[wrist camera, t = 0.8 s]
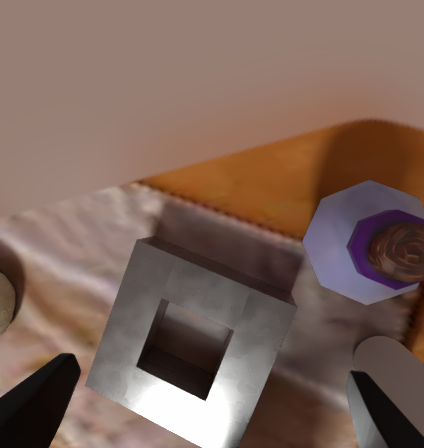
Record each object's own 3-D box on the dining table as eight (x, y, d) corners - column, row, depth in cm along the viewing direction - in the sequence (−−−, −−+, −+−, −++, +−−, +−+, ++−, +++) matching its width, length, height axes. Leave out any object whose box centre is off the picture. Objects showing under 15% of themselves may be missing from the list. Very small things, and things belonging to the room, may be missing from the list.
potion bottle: (289, 278, 26) (318, 333, 14) (290, 190, 25) (321, 167, 13) (386, 282, 24) (511, 347, 12) (388, 188, 24) (519, 162, 12)
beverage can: (391, 324, 24) (520, 429, 12) (417, 372, 24) (575, 524, 12) (341, 345, 25) (419, 462, 13) (366, 391, 25) (468, 552, 13)
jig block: (234, 426, 27) (231, 462, 23) (108, 362, 29) (84, 385, 25) (290, 293, 26) (297, 307, 22) (153, 236, 28) (136, 239, 24)
